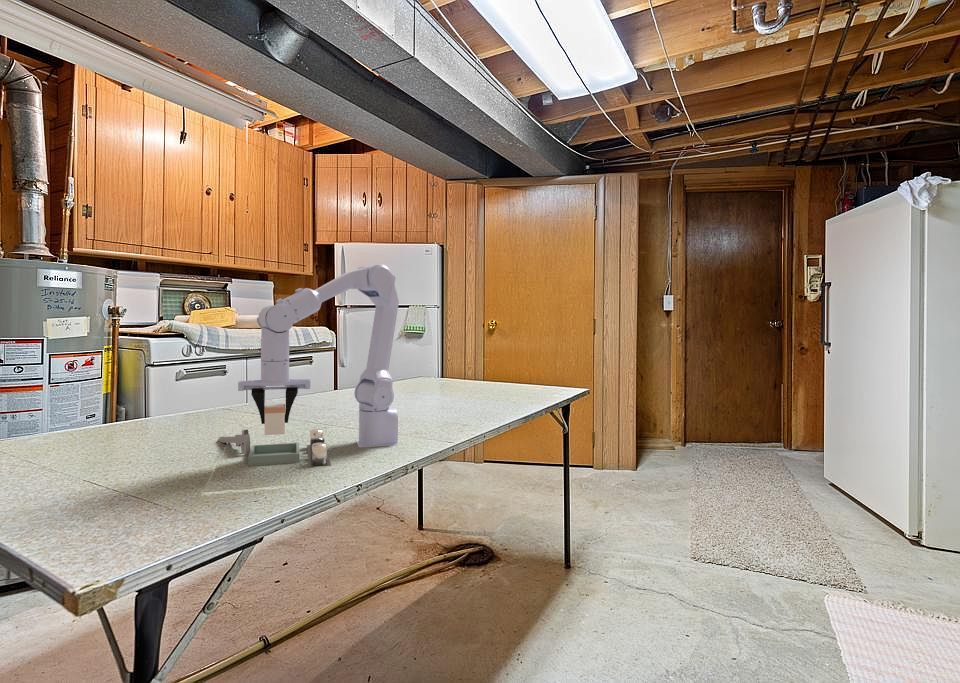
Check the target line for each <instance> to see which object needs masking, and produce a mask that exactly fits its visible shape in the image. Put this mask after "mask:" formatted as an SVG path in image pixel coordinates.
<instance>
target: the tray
mask: <svg viewBox="0 0 960 683" xmlns="http://www.w3.org/2000/svg"><path fill="white" fill-rule="evenodd" d="M300 454H301V453H300V442H286V443H284V442H282V443H271V444H267V443H266V444H254V445H252V444H251V446H250V453H249V455H247V456H248V457H247V458H248V460H247V461H248V462H247V465H248V466H249V467H251V466H261V465H262V466H263V465H275V464H276V465H277V464H287V463H289V464H290V463H291V464H292V463H300V458H301V457H300Z"/></svg>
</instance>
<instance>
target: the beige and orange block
mask: <svg viewBox="0 0 960 683" xmlns="http://www.w3.org/2000/svg"><path fill="white" fill-rule="evenodd" d="M285 410H286V403H265V408H264V413H265V424H264V436H271V435H272V436H273V435H274V436H275V435H277V436H278V435H285V434H286V423H285Z"/></svg>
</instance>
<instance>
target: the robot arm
mask: <svg viewBox="0 0 960 683" xmlns="http://www.w3.org/2000/svg"><path fill="white" fill-rule="evenodd" d="M395 284H396V276H395V275H394V273H393V272H392V271H391V269H390V268H389V267H388V266H386V265H385V264H380V263H379V264H374V265H369V266H359V267H358V268H355V269H352V270H348V271H346V272H344V273H342V274H341V275H339V276H337V277H335V278H334V279H331V280H330V281H328V282H326V283H325V284H322V285H321V286H320V287H317V288H316V289H312V288H308V287H305V288H303V287H299V288H297V289H295V290H294V291H295V293H293V294H291V295H290V296H286V297H285V298H283V299H282V298H278V299H277V300H275V303H276V304H275V305H267V306H264V307H263V308H261V310H260V312H259V313H258V316H257V318H256V323H257V325H258V326H259V328H260V329H261V330H260V331H261V335H260V336H261V338H260V379H254V380H251V379H250V380H249V379H248V380H238V381H237V391H238V392H244V391H251V397H252V398H253V401H254V402H255V405H256V407H257V410H258V413H259V417H260V421H261V425H265V413H264V408H265V405H266V403H265V402H266V400H265V399H266V391H267V390H268V391H269V390H285V424H288V423H289V417H290V413H291V410H292V408H293V404H294V402H295V400H296V397H297V395H298V393H299V390H311V379H305V378H304V379H301V378H300V379H299V378H298V379H295V378H291V379H290V329H291V328H292V327H293V325H294V324H297V323H299V322H300V321H301V320H303V319H306V318H307V317H309V316H311V315H313V314H315V313H317V312H318V311H320V309H321V306H322V303H324V302H325V301H328V300H330V299H331V298H333V297H336V296H339V295H341V294H342V293H345V292H346V291H348V290H351V289H352V290H358V291H359V292H361V293H362V294H363V295H365V297H368V299H370V301H371V303H373V304H374V305H375V311H374V316H373V317H374V318H373V322H372V323H373V325H372V328H371V329H372V330H371V337H370V341H369V342H370V343H369V350H368V356H367V362H366V368H365V369H364V371H362V373H361V374H360V377H359V381H358V383H357V384H356V386H355V389H354V398H355V400H356V402H357V403H358V438H356V439H355V442H356V444H357V446H358V448H374V447H389V446H398V445H399V442H398V441H399V436H398V435H399V415H398V414H399V413H398V411H397V408H395V407H391V408H390V406H391V405H392V404H393V402H394V398H395V393H394V389H393V383H394V380H393V378H392V375H391V374H390V372H389V369H390V363H391V355H392V348H393V343H394V337H395V330H396V323H397V316H398V310H399V303H400V302H399V296H398V293H397V289H396V285H395Z"/></svg>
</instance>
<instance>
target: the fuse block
mask: <svg viewBox="0 0 960 683" xmlns="http://www.w3.org/2000/svg"><path fill="white" fill-rule="evenodd" d="M309 441H310V442H309V444H307V445H306V449H307V450H306V452H307V460H308V467H309V468H317V467H319V468H320V467H331V466H332V464H331V459H330V455H329V450H328V443H326V442H325V438H324V429H323V428H314V429H310V430H309Z"/></svg>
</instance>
